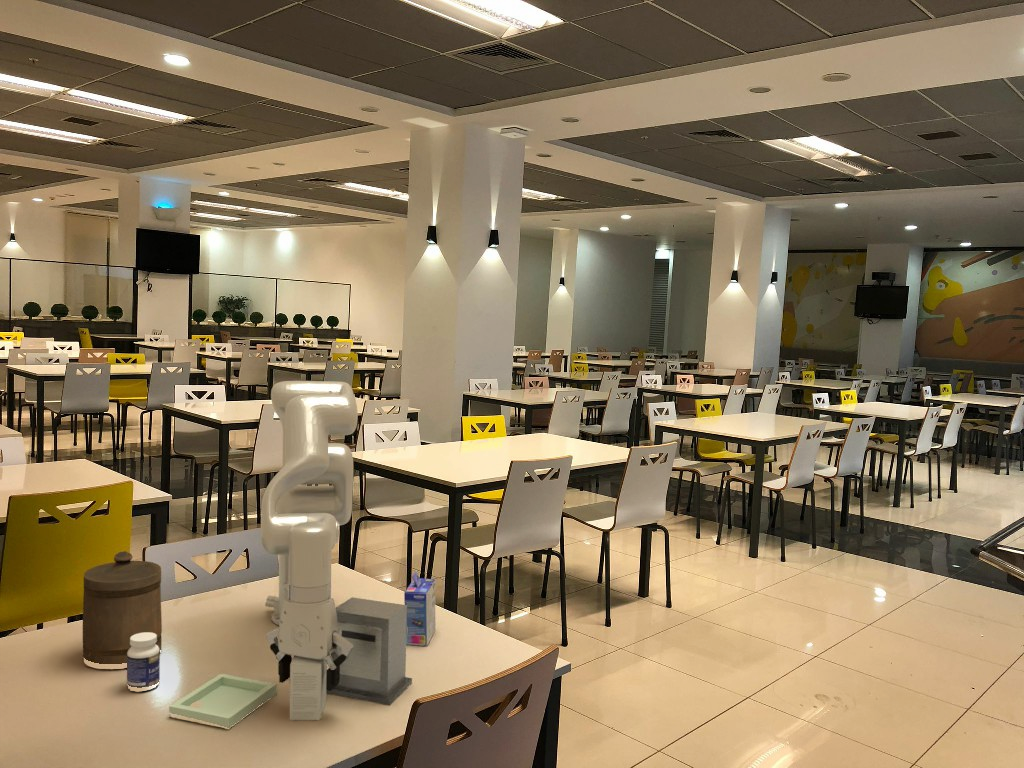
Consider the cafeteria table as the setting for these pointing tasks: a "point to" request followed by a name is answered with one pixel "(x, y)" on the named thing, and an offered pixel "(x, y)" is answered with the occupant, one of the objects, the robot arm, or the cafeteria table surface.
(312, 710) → the small box
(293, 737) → the cafeteria table surface
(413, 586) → the ink cartridge box
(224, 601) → the cafeteria table surface
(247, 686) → the tray
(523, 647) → the cafeteria table surface
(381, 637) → the dispenser unit
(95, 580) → the wooden container
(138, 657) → the pill bottle
